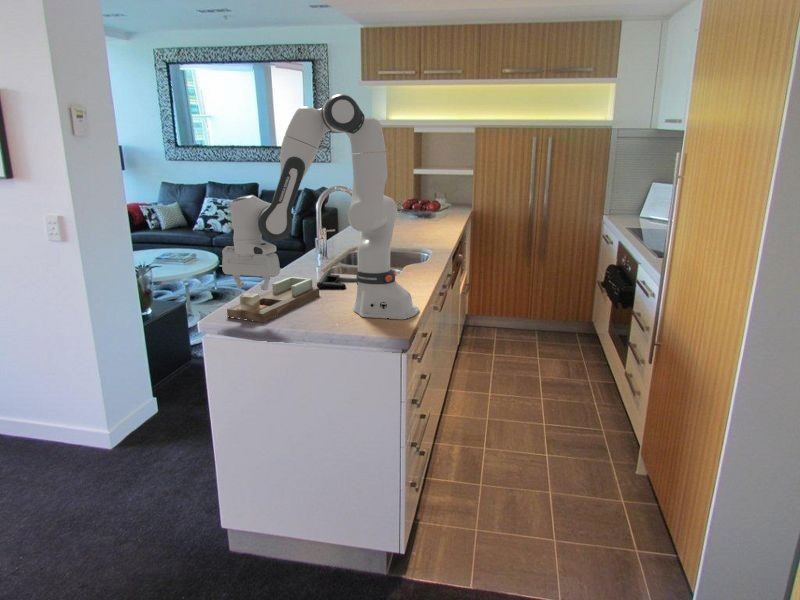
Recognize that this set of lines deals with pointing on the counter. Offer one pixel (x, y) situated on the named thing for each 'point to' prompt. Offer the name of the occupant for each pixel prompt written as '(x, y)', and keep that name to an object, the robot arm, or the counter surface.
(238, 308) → the tile
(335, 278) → the door handle
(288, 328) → the counter surface
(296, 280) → the cubby
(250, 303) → the cube
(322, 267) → the counter surface
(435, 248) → the counter surface
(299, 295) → the board
